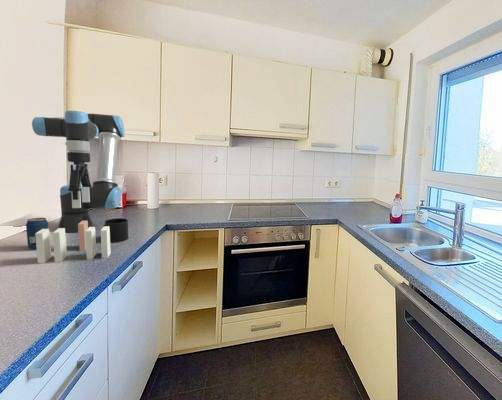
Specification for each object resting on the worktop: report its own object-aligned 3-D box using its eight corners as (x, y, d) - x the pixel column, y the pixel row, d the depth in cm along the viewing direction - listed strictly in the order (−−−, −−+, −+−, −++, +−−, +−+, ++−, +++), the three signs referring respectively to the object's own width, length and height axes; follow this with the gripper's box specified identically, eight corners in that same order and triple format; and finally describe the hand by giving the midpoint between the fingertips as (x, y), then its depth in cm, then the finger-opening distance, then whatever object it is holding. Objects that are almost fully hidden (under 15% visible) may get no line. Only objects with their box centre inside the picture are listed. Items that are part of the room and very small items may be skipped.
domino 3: (79, 250, 105) (77, 224, 103) (83, 245, 110) (82, 220, 109) (85, 250, 106) (83, 224, 104) (89, 245, 111) (87, 220, 109)
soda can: (36, 244, 109) (34, 217, 107) (53, 244, 110) (51, 217, 108) (23, 250, 102) (20, 221, 100) (42, 250, 103) (39, 221, 101)
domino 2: (54, 262, 93) (52, 232, 91) (60, 256, 99) (58, 228, 97) (61, 261, 94) (59, 232, 92) (66, 255, 99) (64, 228, 97)
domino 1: (38, 263, 91) (35, 233, 90) (44, 257, 97) (42, 228, 95) (44, 262, 92) (42, 233, 90) (51, 256, 98) (49, 228, 96)
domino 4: (86, 259, 96) (85, 231, 95) (90, 253, 102) (89, 227, 100) (92, 259, 97) (91, 231, 95) (96, 253, 103) (95, 226, 101)
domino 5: (101, 258, 98) (100, 230, 96) (104, 252, 104) (103, 226, 102) (107, 258, 99) (106, 230, 97) (110, 252, 104) (109, 226, 103)
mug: (110, 235, 126) (109, 217, 125) (132, 237, 124) (132, 219, 123) (95, 240, 117) (94, 221, 116) (119, 243, 115) (118, 223, 114)
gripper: (76, 152, 112) (79, 200, 115) (55, 150, 89) (59, 210, 92) (96, 152, 115) (98, 199, 118) (80, 151, 91) (84, 210, 95)
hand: (81, 204), depth 105 cm, fingers open, 13 cm apart
